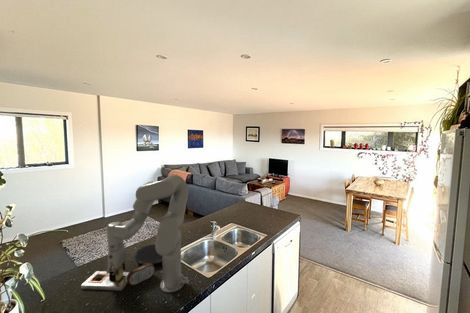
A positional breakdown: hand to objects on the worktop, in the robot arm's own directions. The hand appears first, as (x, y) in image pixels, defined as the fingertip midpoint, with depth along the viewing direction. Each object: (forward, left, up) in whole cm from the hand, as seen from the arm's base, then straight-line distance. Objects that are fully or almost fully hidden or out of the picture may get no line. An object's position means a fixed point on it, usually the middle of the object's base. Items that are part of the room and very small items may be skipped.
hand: (117, 275), depth 122 cm
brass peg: (0, 0, -4) cm, 4 cm away
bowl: (-10, -23, -5) cm, 25 cm away
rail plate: (+5, 0, -4) cm, 7 cm away
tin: (-13, -2, -4) cm, 14 cm away
